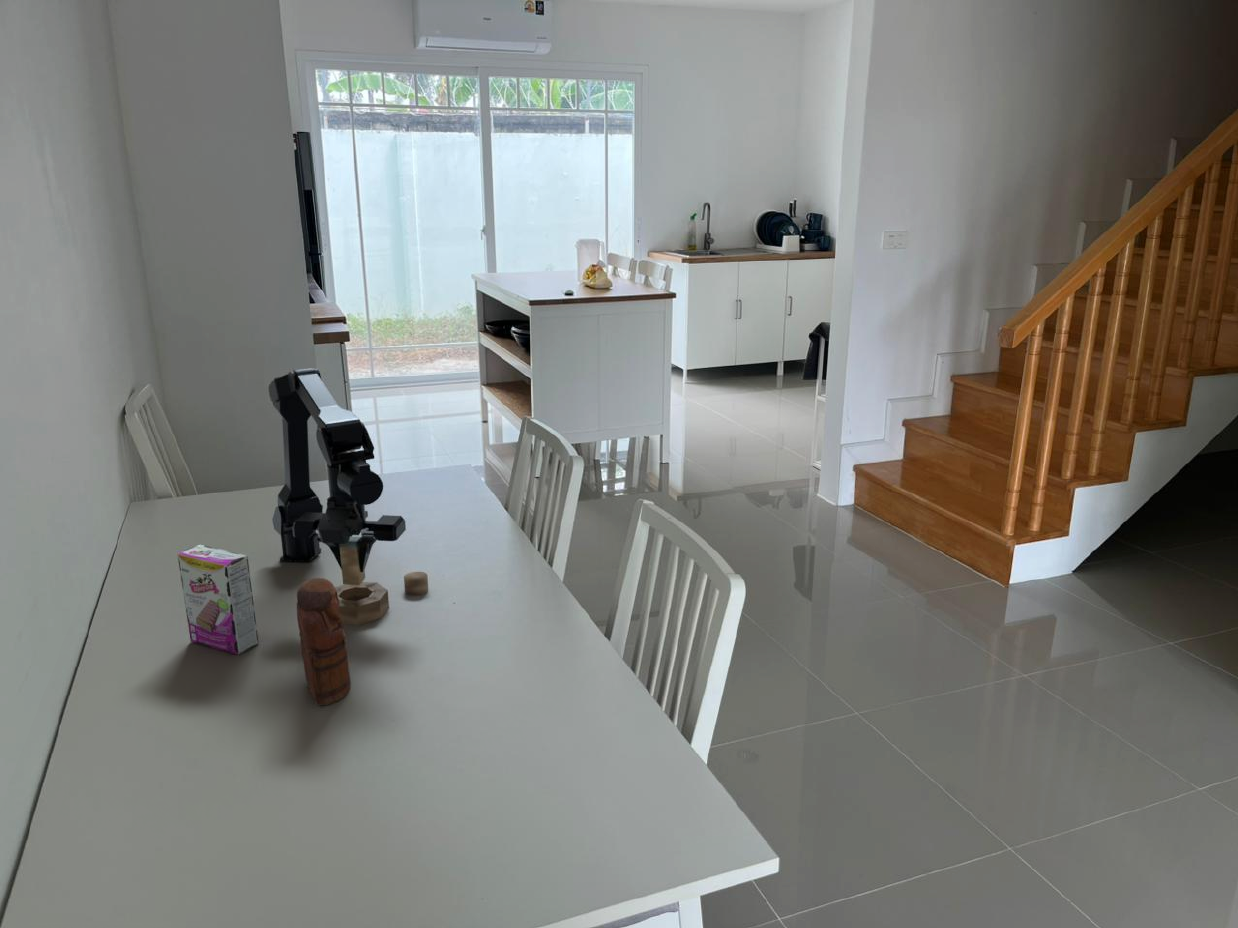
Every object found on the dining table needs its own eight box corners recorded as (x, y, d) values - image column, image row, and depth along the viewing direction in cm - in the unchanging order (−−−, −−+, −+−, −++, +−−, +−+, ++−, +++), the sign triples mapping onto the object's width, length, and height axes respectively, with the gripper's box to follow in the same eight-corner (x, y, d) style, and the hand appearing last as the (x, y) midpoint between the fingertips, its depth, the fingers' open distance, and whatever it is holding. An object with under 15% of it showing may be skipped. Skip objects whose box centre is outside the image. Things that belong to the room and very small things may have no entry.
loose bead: (401, 595, 178) (400, 580, 177) (408, 585, 183) (407, 571, 182) (424, 596, 178) (423, 581, 177) (431, 586, 182) (430, 572, 181)
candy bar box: (188, 643, 160) (175, 553, 155) (211, 630, 164) (199, 543, 159) (237, 656, 155) (225, 564, 151) (260, 643, 160) (249, 553, 155)
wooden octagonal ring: (317, 623, 167) (316, 605, 166) (340, 597, 177) (338, 580, 176) (375, 625, 166) (373, 607, 165) (394, 600, 176) (393, 583, 175)
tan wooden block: (343, 584, 168) (339, 542, 166) (349, 577, 171) (345, 536, 169) (359, 585, 168) (355, 543, 166) (365, 578, 171) (361, 537, 169)
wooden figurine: (356, 700, 143) (346, 591, 137) (313, 710, 140) (301, 599, 135) (341, 665, 153) (331, 562, 147) (300, 674, 150) (289, 569, 145)
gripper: (274, 502, 158) (283, 587, 162) (382, 506, 156) (389, 592, 161) (302, 481, 168) (310, 562, 173) (403, 484, 167) (409, 566, 171)
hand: (353, 570), depth 169 cm, fingers closed on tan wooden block, 3 cm apart
